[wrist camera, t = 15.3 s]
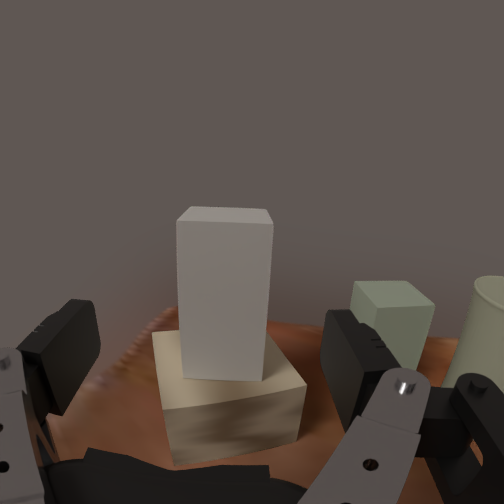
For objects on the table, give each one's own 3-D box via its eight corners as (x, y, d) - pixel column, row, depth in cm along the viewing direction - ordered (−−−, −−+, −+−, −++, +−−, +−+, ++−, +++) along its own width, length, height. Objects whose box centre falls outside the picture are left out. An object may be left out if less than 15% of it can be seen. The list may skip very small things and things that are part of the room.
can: (526, 407, 20) (573, 295, 16) (490, 458, 16) (561, 325, 12) (463, 370, 28) (495, 264, 24) (416, 406, 24) (456, 280, 20)
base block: (255, 376, 29) (258, 321, 27) (295, 443, 21) (307, 385, 19) (159, 389, 26) (151, 332, 25) (174, 467, 18) (162, 409, 16)
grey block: (257, 340, 24) (266, 209, 22) (261, 381, 20) (273, 224, 17) (192, 338, 24) (190, 206, 21) (182, 378, 19) (176, 220, 17)
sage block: (383, 374, 29) (406, 280, 26) (402, 406, 24) (435, 305, 21) (335, 379, 28) (354, 281, 25) (350, 414, 24) (377, 307, 21)
